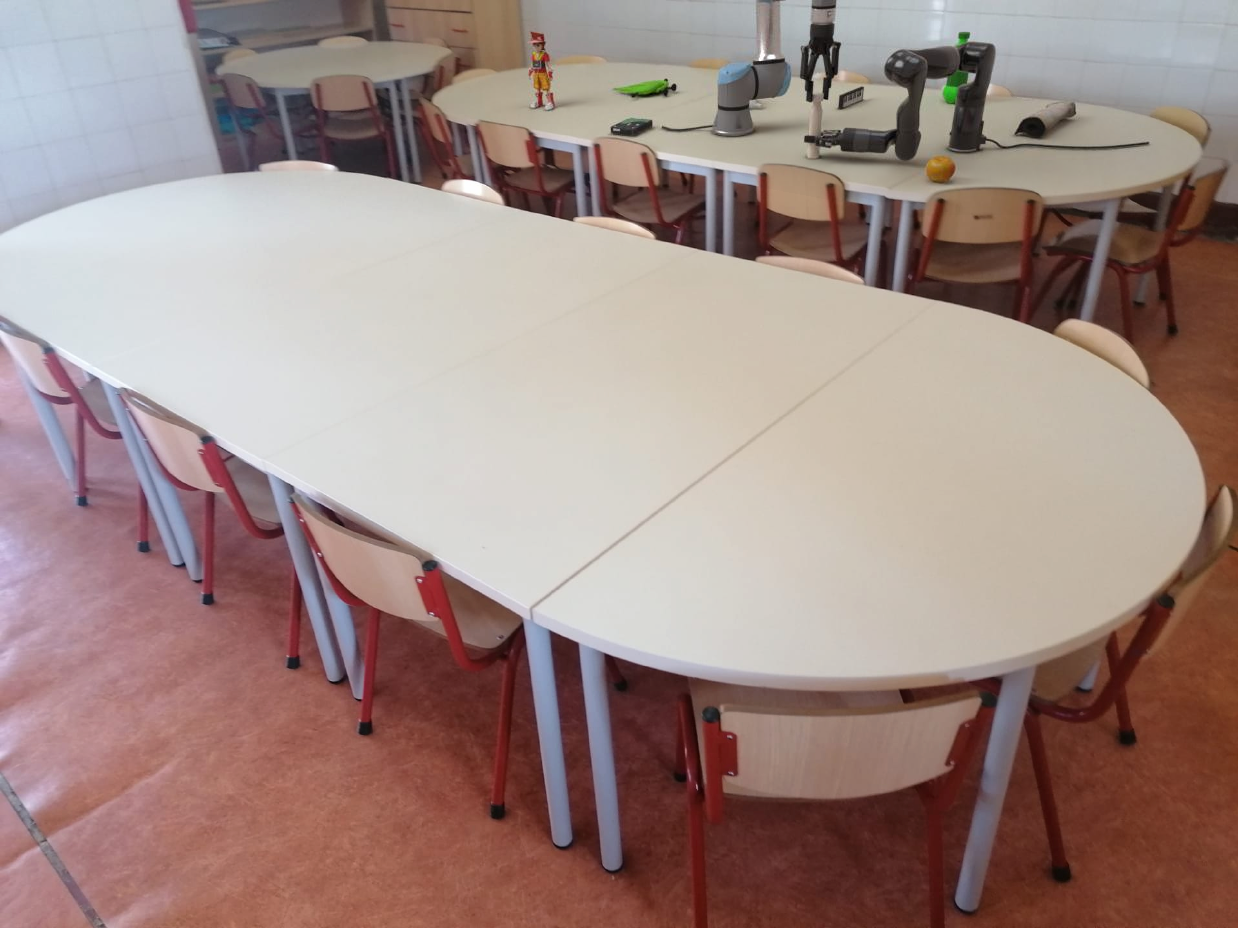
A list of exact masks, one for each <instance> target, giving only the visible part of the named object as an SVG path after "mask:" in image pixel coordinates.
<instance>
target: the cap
mask: <svg viewBox="0 0 1238 928" xmlns="http://www.w3.org/2000/svg"><path fill="white" fill-rule="evenodd" d="M823 98H824V94H823V93H822V92H820V91H819V92H818V91H817V92H813V99H812V103H813V102H821V103H822V102H824V99H823Z"/></svg>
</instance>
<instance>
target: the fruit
mask: <svg viewBox="0 0 1238 928" xmlns="http://www.w3.org/2000/svg"><path fill="white" fill-rule="evenodd" d="M955 173H956V163H955V162H954V161H953V159H952V158H950V157H948V156H945V155H941V156H940V155H939V156H935V157H933V158H931V159H930V160H929V161H928V162H927V163H926V166H925V175H926V177H927V178H928V179H929V180H930V181H933V182H939V183H941V182H942V183H943V182H946V181H949V180H950V179H951V178H952V177H953V176H954V175H955Z"/></svg>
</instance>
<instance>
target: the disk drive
mask: <svg viewBox="0 0 1238 928" xmlns="http://www.w3.org/2000/svg"><path fill="white" fill-rule="evenodd" d="M651 128H653V119H647V118H637V117H636V118H635V117H629V118H627V119H624V120H621V121H619V122H618V123H615V124H613V125H612V126H610V134H613V135H614V134H615V135H620V136H636V135H638V134H640V133H642V132H644V131H646V130H649V129H651Z"/></svg>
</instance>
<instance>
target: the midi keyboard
mask: <svg viewBox="0 0 1238 928" xmlns="http://www.w3.org/2000/svg"><path fill="white" fill-rule="evenodd" d="M864 91H865V86H862V85H861V86H859V87H857V88H854V89H851V90H849V91H846V92H844V93H842V94H839V96H838V105H837V106H838V107H837V109H839V110H842V109H844V108H846V107H848V106H851V105H852V104H855V103H858V102H859V101H863V100H864Z"/></svg>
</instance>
